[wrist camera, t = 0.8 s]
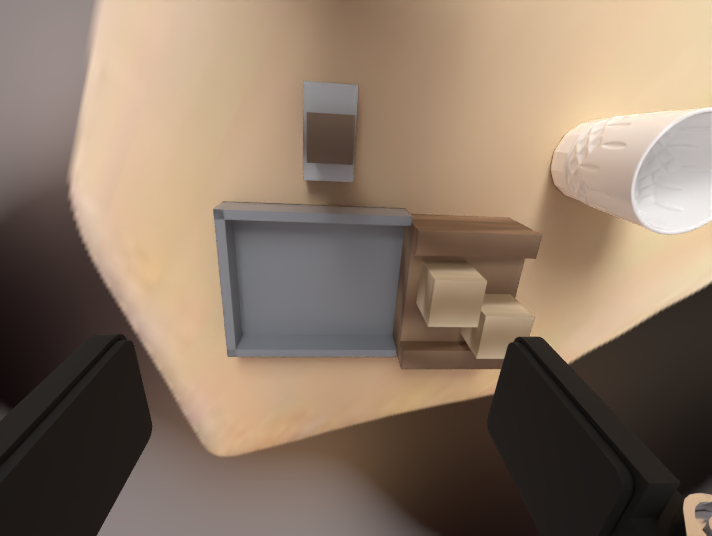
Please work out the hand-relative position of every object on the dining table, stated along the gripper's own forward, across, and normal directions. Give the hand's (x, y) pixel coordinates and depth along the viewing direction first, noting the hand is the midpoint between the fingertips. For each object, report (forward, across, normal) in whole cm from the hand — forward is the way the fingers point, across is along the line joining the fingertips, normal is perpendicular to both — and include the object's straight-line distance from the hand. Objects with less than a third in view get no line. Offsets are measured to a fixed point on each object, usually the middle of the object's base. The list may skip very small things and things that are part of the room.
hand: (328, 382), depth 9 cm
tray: (+24, +1, +8) cm, 25 cm away
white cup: (+24, -23, -4) cm, 34 cm away
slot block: (+24, -12, +8) cm, 28 cm away
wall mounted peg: (+24, 0, -5) cm, 25 cm away
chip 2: (+20, -14, +10) cm, 26 cm away
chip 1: (+20, -10, +7) cm, 23 cm away
